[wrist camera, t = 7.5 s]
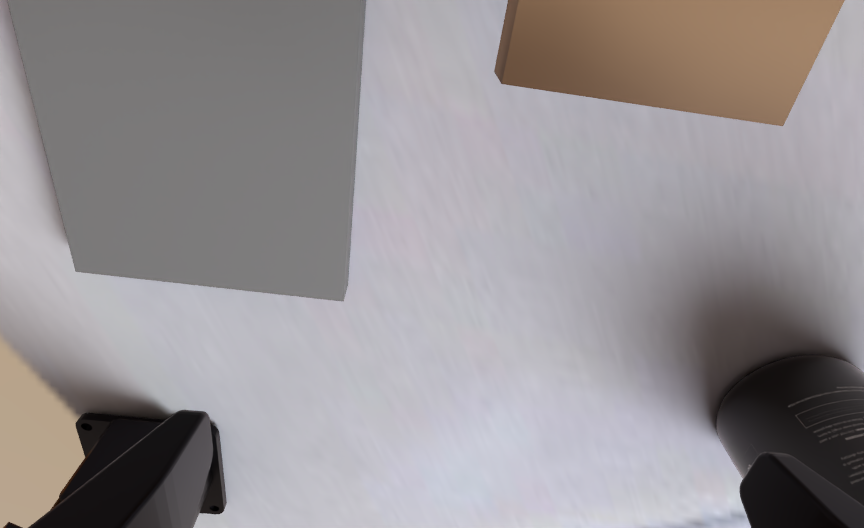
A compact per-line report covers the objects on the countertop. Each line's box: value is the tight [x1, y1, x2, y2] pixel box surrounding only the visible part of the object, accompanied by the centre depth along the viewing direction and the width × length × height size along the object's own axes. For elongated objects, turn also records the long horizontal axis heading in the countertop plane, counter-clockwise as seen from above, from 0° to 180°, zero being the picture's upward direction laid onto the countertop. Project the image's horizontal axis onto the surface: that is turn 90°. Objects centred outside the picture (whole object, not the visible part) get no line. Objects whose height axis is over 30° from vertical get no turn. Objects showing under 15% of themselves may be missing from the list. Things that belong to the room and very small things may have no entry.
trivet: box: [7, 0, 366, 301], centre depth 17 cm, size 12×10×1 cm
